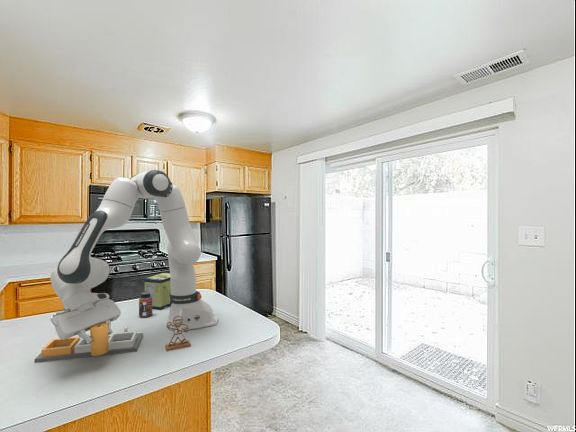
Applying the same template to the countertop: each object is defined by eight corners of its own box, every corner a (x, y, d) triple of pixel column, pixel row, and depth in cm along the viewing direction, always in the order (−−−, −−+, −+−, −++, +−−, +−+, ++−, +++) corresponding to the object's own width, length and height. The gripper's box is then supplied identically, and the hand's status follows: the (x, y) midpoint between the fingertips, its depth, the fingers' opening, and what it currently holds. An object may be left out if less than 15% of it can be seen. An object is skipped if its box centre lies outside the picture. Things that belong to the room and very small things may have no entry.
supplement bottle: (147, 318, 148) (147, 295, 147) (136, 317, 149) (135, 294, 149) (155, 314, 154) (154, 291, 153) (144, 313, 155) (144, 290, 154)
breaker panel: (143, 335, 129) (142, 324, 129) (136, 351, 116) (136, 338, 115) (52, 344, 120) (52, 332, 120) (34, 362, 107) (34, 349, 107)
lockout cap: (110, 347, 109) (109, 321, 109) (106, 354, 104) (105, 327, 104) (93, 349, 108) (92, 323, 107) (88, 356, 103) (87, 329, 102)
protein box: (179, 301, 174) (179, 273, 174) (160, 310, 159) (160, 280, 159) (164, 299, 177) (164, 272, 177) (144, 308, 163) (143, 278, 162)
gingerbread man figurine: (188, 342, 124) (188, 312, 123) (190, 346, 120) (190, 315, 120) (165, 347, 119) (164, 316, 119) (166, 351, 116) (166, 319, 115)
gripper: (52, 309, 98) (72, 345, 95) (111, 292, 117) (130, 321, 114) (44, 321, 100) (64, 356, 97) (104, 302, 119) (122, 331, 116)
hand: (100, 337), depth 105 cm, fingers closed on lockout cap, 5 cm apart
